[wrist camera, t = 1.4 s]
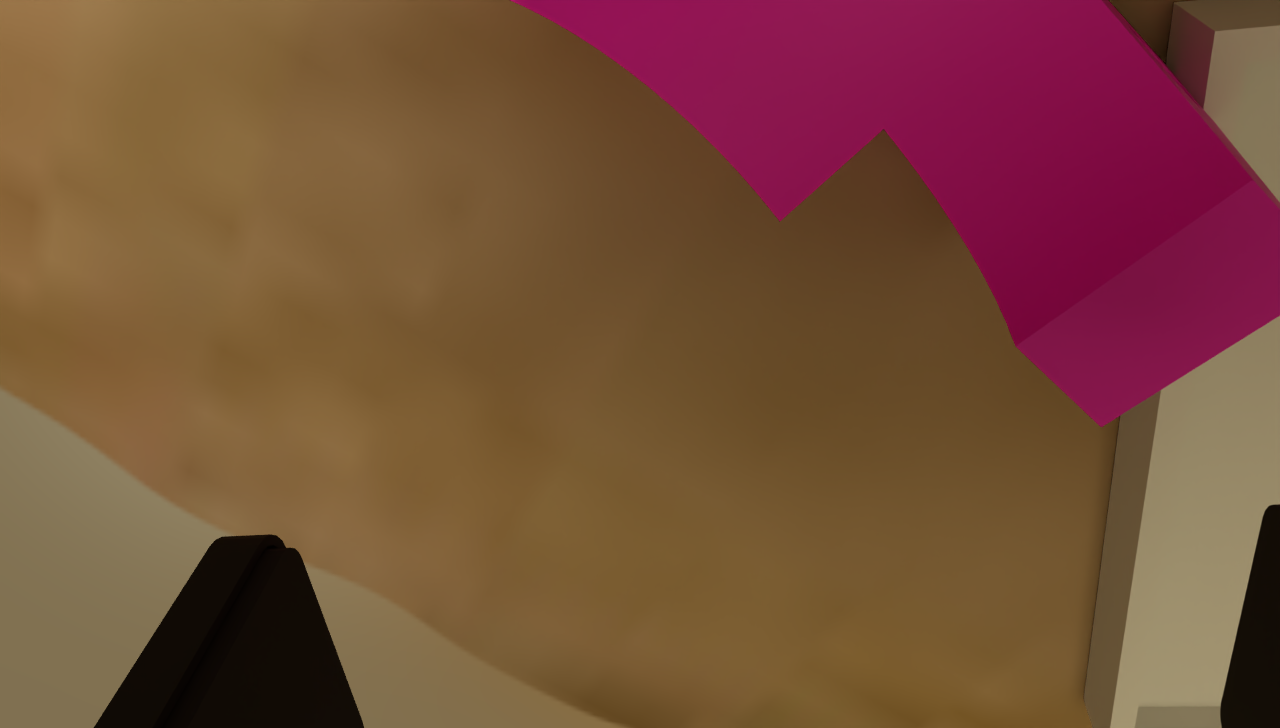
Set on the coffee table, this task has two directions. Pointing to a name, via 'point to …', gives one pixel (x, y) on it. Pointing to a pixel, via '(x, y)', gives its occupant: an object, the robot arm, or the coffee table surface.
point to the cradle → (1195, 440)
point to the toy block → (991, 158)
